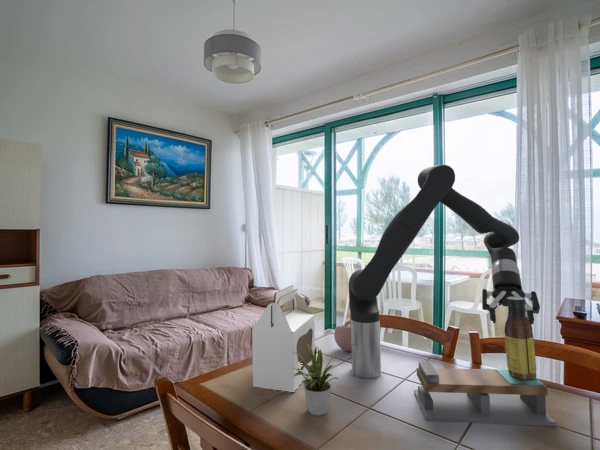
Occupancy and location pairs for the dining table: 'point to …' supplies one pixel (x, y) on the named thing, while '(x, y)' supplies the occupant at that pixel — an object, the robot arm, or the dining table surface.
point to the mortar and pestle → (343, 337)
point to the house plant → (316, 384)
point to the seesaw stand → (484, 408)
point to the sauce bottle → (519, 341)
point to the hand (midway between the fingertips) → (512, 323)
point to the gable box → (283, 342)
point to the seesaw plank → (476, 381)
